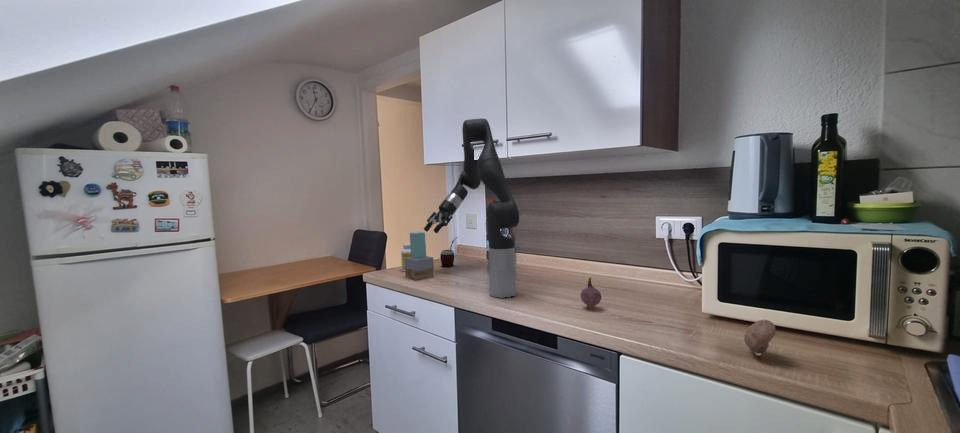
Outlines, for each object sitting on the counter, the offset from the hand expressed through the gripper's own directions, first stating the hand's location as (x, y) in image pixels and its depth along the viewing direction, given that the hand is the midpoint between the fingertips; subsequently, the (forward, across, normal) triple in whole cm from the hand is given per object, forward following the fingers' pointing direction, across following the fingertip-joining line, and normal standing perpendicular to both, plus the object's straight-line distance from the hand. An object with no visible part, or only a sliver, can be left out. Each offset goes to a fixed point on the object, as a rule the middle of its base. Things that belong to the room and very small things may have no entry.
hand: (430, 231), depth 163 cm
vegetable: (+5, +75, +23) cm, 79 cm away
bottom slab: (+19, +1, +10) cm, 21 cm away
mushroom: (+5, +118, +23) cm, 121 cm away
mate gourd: (+3, -9, +25) cm, 27 cm away
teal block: (+12, 0, +3) cm, 13 cm away
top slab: (+16, +1, +6) cm, 17 cm away
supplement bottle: (+17, -15, +12) cm, 25 cm away
